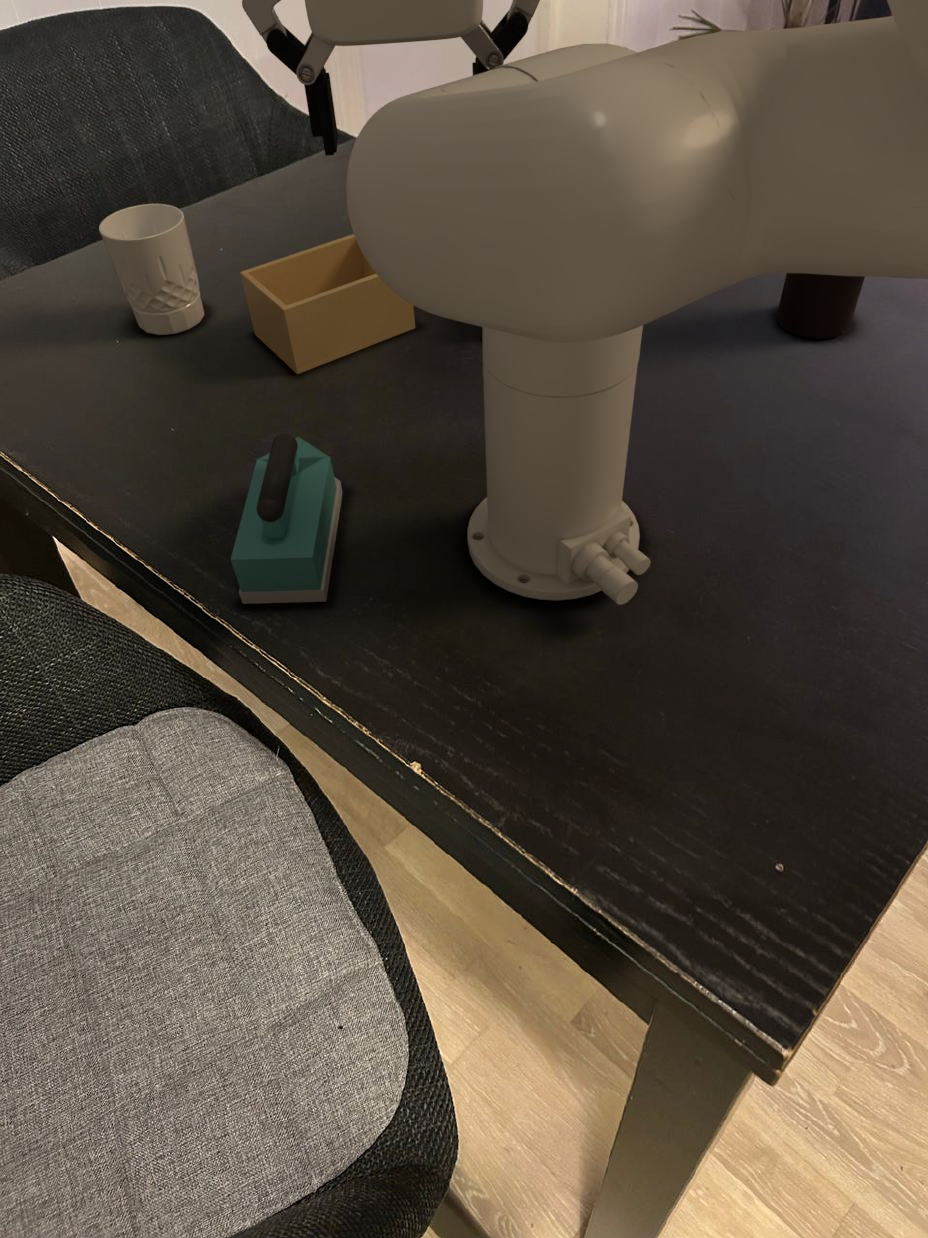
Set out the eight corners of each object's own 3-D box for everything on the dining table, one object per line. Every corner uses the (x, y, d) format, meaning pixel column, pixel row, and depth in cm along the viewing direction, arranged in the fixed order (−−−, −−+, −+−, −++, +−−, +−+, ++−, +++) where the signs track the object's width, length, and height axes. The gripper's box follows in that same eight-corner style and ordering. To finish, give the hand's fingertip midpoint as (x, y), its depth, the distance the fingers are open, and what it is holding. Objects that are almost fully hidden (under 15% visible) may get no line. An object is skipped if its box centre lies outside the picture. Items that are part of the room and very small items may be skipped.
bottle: (784, 299, 87) (838, 71, 72) (855, 311, 85) (926, 79, 70) (768, 332, 83) (822, 98, 68) (842, 346, 81) (915, 108, 66)
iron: (326, 601, 62) (307, 522, 56) (242, 604, 62) (215, 525, 57) (346, 469, 72) (332, 390, 66) (274, 471, 72) (253, 393, 67)
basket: (415, 328, 87) (409, 264, 82) (297, 374, 82) (283, 309, 77) (368, 292, 92) (360, 231, 87) (254, 334, 87) (239, 271, 82)
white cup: (117, 331, 89) (81, 233, 81) (162, 295, 94) (132, 199, 86) (182, 344, 87) (151, 244, 79) (225, 305, 91) (199, 208, 84)
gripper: (539, -247, 46) (534, 111, 59) (210, -225, 46) (276, 130, 58) (559, -234, 41) (549, 155, 54) (189, -210, 41) (267, 175, 53)
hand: (406, 141), depth 56 cm, fingers open, 9 cm apart
